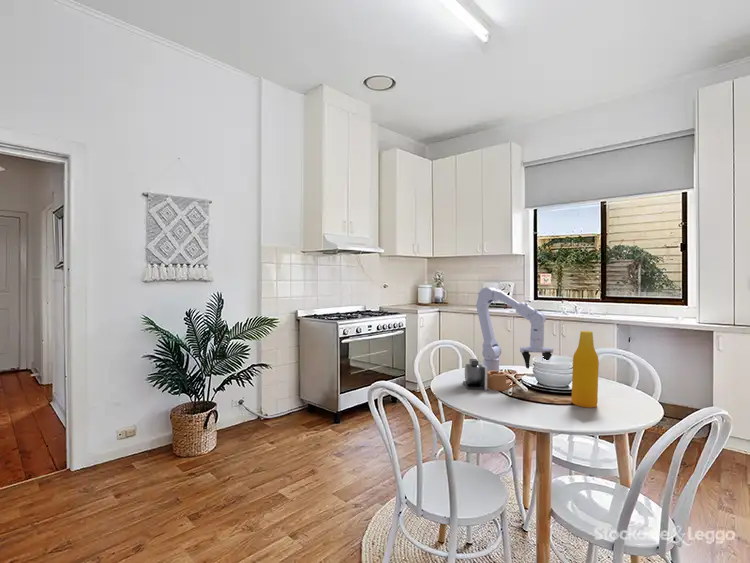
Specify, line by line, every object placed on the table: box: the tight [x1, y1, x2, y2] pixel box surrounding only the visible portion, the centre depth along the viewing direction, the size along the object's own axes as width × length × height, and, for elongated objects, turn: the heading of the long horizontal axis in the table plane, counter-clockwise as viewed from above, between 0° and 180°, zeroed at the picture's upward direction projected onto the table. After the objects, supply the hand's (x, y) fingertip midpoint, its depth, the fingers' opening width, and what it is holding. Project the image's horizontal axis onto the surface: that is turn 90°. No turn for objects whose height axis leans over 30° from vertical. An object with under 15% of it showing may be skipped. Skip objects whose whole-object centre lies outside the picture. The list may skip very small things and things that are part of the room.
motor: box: [462, 358, 488, 391], centre depth 188 cm, size 12×8×12 cm, turn 1°
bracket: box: [487, 370, 517, 392], centre depth 190 cm, size 18×8×7 cm, turn 136°
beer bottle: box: [571, 330, 600, 409], centre depth 165 cm, size 9×9×29 cm
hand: (535, 368), depth 190 cm, fingers open, 7 cm apart
